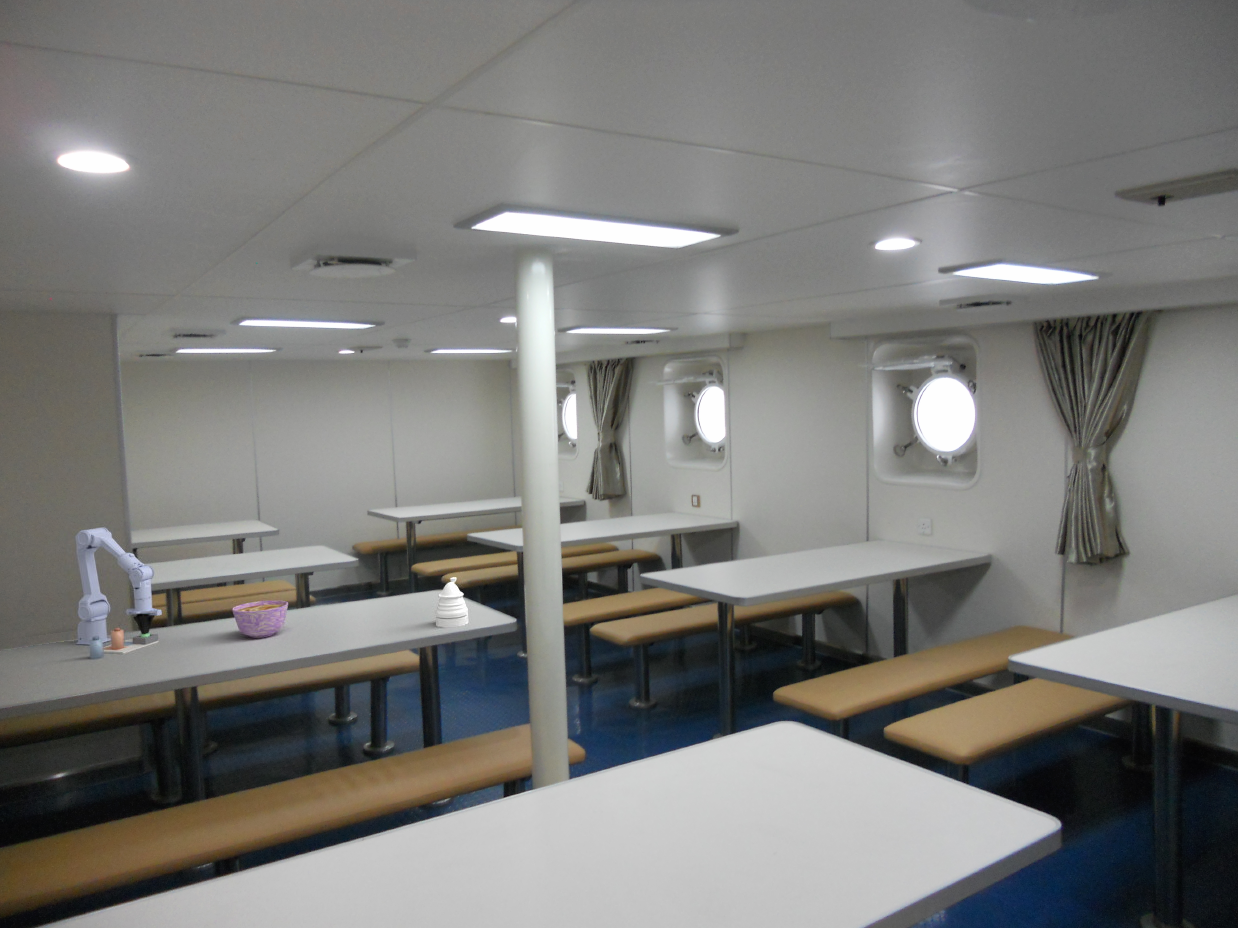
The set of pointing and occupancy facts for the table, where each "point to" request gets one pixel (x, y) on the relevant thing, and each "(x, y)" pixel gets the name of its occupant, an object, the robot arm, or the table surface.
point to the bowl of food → (260, 617)
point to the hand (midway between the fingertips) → (145, 633)
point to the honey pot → (451, 607)
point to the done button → (145, 635)
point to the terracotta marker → (117, 638)
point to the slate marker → (96, 648)
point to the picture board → (133, 644)
